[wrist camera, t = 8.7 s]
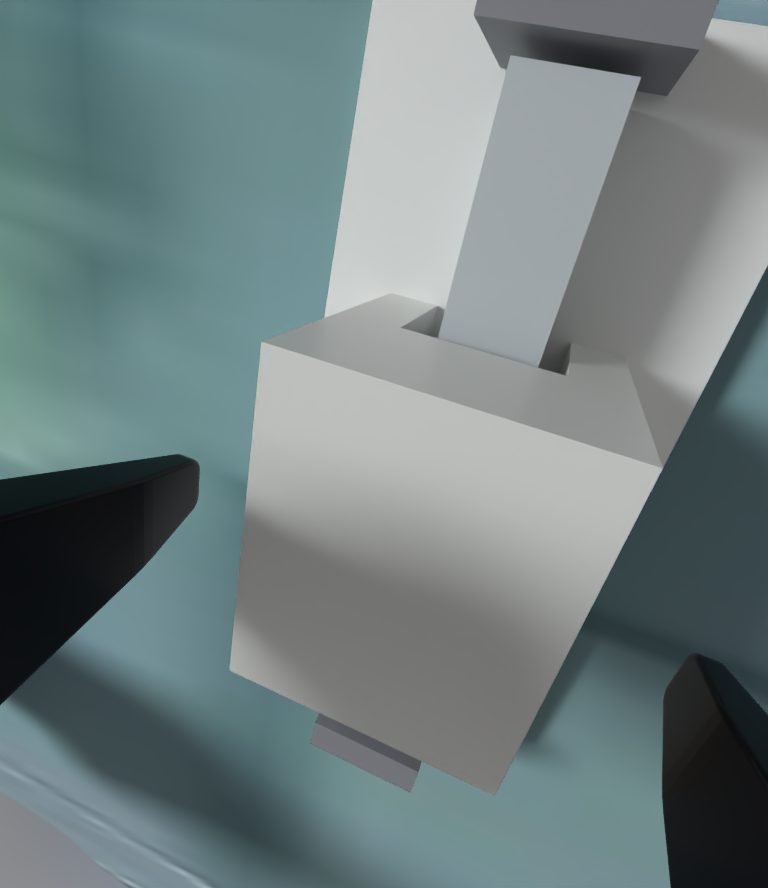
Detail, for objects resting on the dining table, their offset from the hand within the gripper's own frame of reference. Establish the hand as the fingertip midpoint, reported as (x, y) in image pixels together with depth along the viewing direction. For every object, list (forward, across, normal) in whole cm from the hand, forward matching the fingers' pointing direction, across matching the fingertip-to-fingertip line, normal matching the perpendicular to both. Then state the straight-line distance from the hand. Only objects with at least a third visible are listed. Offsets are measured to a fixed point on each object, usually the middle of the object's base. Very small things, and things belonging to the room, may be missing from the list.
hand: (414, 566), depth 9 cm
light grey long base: (+6, 0, 0) cm, 6 cm away
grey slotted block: (+5, 0, 0) cm, 5 cm away
